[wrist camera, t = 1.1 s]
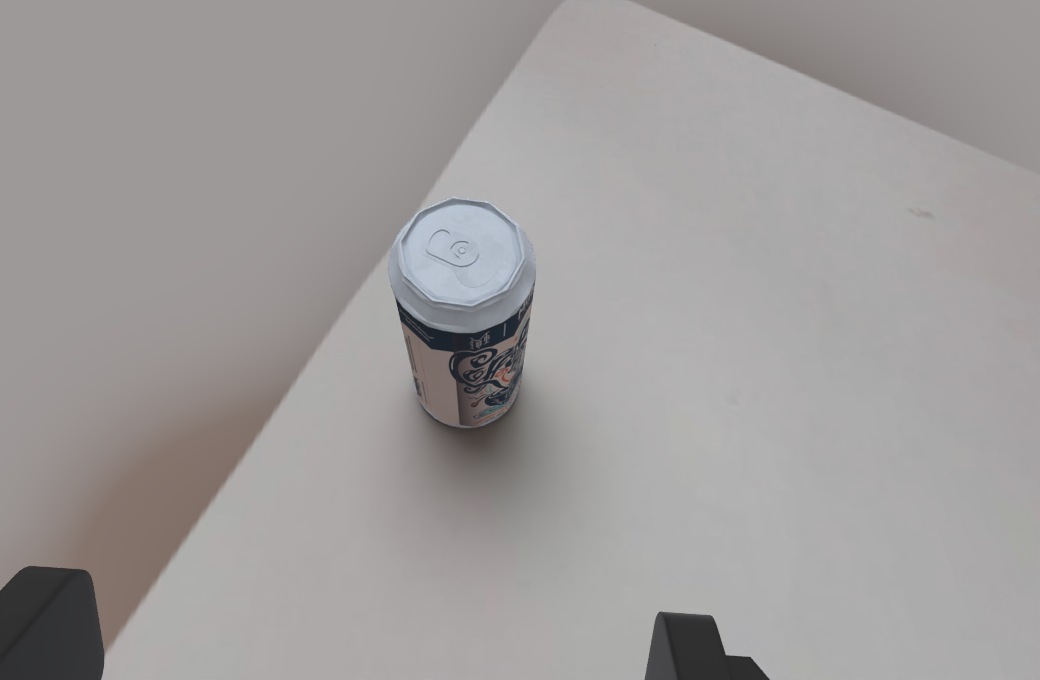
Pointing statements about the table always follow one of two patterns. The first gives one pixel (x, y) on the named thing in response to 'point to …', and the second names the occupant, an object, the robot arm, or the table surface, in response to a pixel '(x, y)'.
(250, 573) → the table surface
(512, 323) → the beer can
